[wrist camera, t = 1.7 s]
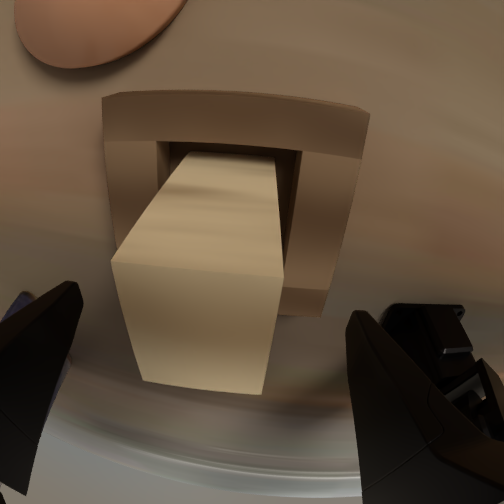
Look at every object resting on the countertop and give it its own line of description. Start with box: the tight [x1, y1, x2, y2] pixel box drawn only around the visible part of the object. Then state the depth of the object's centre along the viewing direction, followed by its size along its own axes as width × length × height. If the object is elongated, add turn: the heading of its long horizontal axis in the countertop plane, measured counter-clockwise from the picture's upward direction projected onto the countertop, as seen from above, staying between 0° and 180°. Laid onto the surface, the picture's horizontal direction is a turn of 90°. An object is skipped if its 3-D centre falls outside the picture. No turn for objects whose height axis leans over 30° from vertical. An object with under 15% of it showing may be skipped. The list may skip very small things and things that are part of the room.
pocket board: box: [102, 90, 370, 317], centre depth 15 cm, size 11×11×2 cm
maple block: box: [111, 151, 284, 395], centre depth 12 cm, size 5×4×9 cm
